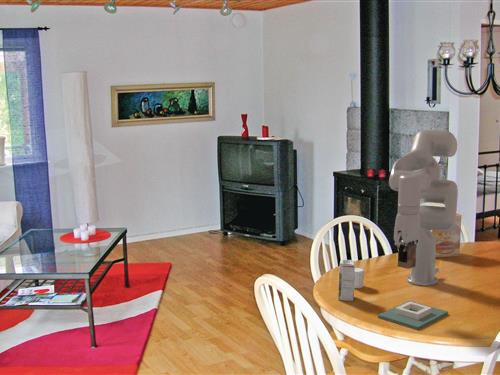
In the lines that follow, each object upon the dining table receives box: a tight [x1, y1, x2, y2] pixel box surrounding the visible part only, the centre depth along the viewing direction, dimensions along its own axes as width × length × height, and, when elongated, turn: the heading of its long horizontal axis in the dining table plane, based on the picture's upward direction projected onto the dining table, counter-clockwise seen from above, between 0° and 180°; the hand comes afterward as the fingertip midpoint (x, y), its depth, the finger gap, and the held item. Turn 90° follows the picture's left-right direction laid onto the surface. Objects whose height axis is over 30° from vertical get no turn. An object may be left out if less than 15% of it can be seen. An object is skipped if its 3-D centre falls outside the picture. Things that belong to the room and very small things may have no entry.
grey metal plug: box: [397, 243, 416, 270], centre depth 237 cm, size 4×4×8 cm
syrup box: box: [337, 259, 356, 302], centre depth 254 cm, size 6×6×14 cm
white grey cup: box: [354, 266, 366, 289], centre depth 269 cm, size 7×7×7 cm
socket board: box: [377, 300, 449, 331], centre depth 237 cm, size 20×16×3 cm
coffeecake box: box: [431, 212, 463, 258], centre depth 310 cm, size 15×7×20 cm, turn 104°
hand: (406, 259), depth 237 cm, fingers closed on grey metal plug, 4 cm apart
